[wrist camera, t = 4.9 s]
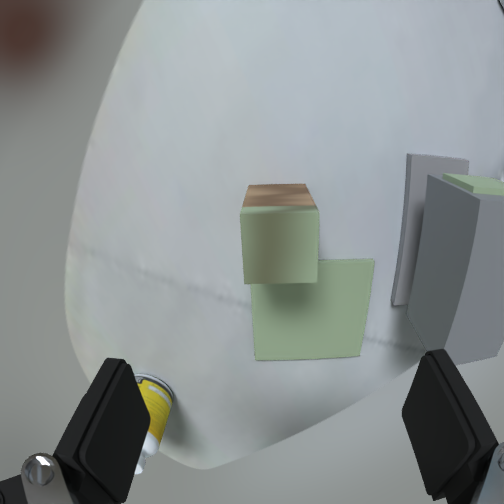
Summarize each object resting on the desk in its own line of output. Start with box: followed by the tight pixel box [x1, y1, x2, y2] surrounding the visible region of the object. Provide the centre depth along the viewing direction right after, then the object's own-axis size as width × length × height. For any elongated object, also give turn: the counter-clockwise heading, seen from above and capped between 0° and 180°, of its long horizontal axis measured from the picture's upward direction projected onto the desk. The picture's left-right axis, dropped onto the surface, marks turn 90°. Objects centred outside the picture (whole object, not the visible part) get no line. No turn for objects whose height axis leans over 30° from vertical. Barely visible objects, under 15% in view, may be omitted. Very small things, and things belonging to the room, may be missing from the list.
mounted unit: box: [391, 154, 504, 365], centre depth 21 cm, size 6×14×11 cm, turn 3°
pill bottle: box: [134, 374, 173, 474], centre depth 31 cm, size 6×6×12 cm
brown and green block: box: [240, 184, 319, 284], centre depth 23 cm, size 4×4×8 cm
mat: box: [251, 259, 375, 360], centre depth 30 cm, size 11×11×1 cm
